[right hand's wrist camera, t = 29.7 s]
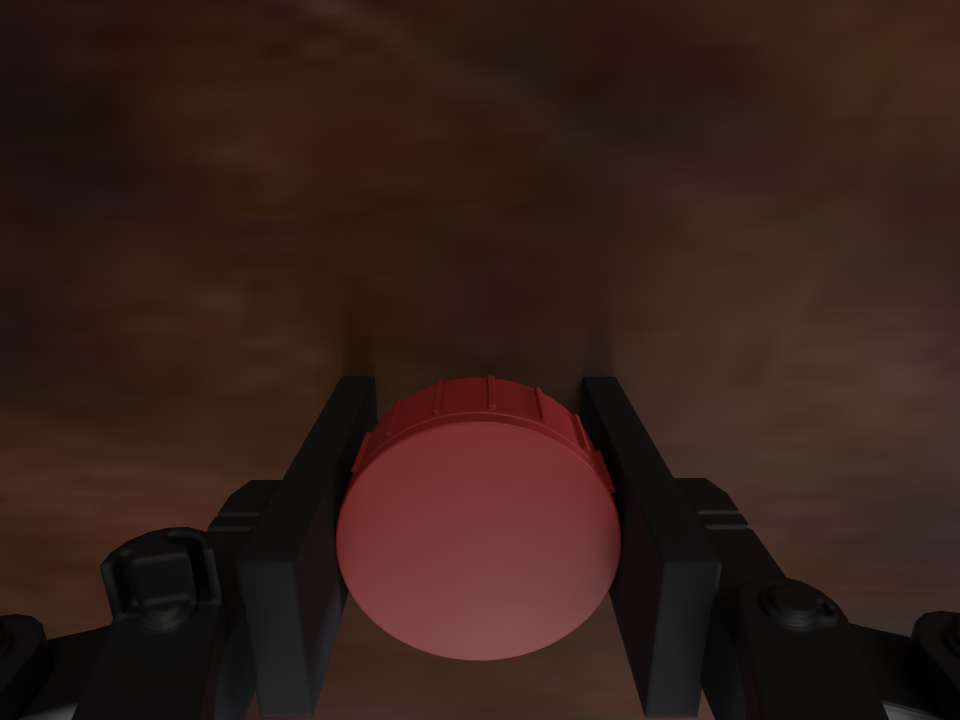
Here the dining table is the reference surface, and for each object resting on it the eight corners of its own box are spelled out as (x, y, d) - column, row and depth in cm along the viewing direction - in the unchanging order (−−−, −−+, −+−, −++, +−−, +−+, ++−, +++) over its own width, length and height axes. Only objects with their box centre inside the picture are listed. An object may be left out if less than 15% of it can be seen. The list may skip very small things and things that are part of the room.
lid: (355, 361, 11) (330, 404, 9) (624, 383, 11) (651, 429, 9) (351, 581, 13) (329, 654, 11) (585, 598, 13) (601, 672, 11)
